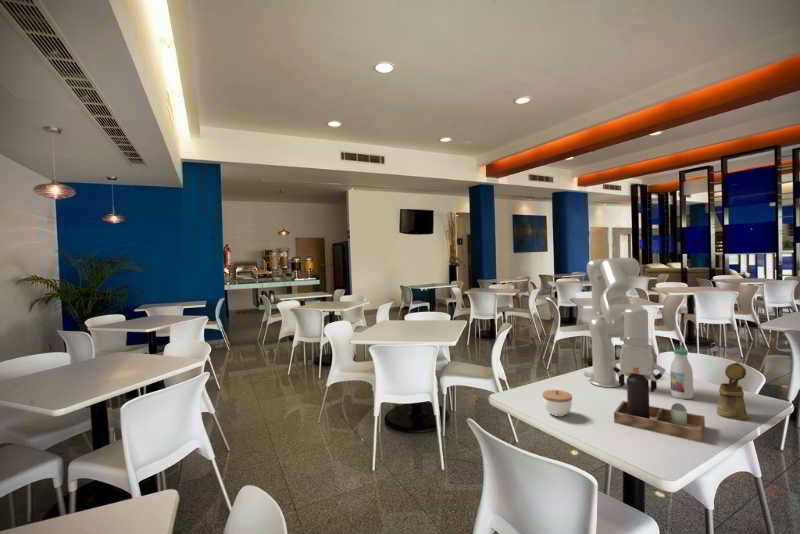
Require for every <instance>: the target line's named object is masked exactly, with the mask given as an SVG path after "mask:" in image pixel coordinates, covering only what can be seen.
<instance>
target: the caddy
mask: <svg viewBox="0 0 800 534" xmlns="http://www.w3.org/2000/svg"><path fill="white" fill-rule="evenodd" d="M649 414H650V419H647V418H643V417H638V416H633V415H628V403H627V401H625V400H623V401H622V402H620V404H619V405H618V407H617V408H616V409H615V410H614V411H613V422H614V423H615V424H618V425H619V424H620V425H623V426H628V427H633V428H636V429H641V430H645V431H650V432H655V433H659V434H662V435H663V434H664V435H666V436H667V435H668V436H671V437H677V438H682V439H685V440H689V441H690V440H691V441H695V442H700V443H702V442H703V437H704V431H705V428H706V427H705V426H706V425H705V424H706V422H705V421H706V420H705V418H706V417H705V416H704V415H699V414H694V413H690V412H687V427H686V426H681V425H676V424H672V423H671V409H669V408H664V407H659V406H653V405H649Z"/></svg>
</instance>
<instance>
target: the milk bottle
mask: <svg viewBox="0 0 800 534" xmlns="http://www.w3.org/2000/svg"><path fill="white" fill-rule="evenodd" d="M673 352H674V353H673V355H674V358H673V361H672V362H671V364H670V369H669V370H670V371H669V372H670V373H669V374H670V375H669V376H670V395H671V396H672V397H674V398H676V399H681V400H692V399H693V398H694V376H693V375H694V373H693V367H692V365H691V363H690V362H689V359H688V350H687V349H684V348H674V350H673Z"/></svg>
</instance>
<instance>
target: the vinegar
mask: <svg viewBox="0 0 800 534" xmlns="http://www.w3.org/2000/svg"><path fill="white" fill-rule="evenodd" d="M634 373H636V374H634ZM649 382H650V381H649V379H647V376H645V375H640V374H639V368H636V367H633V373H631V375H630V376H627V377H626V396H627V399H626V400H627V403H628V415H633V416H638V417H643V418H647V419H650V414H649V406H650V387H649V386H650V384H649Z"/></svg>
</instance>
